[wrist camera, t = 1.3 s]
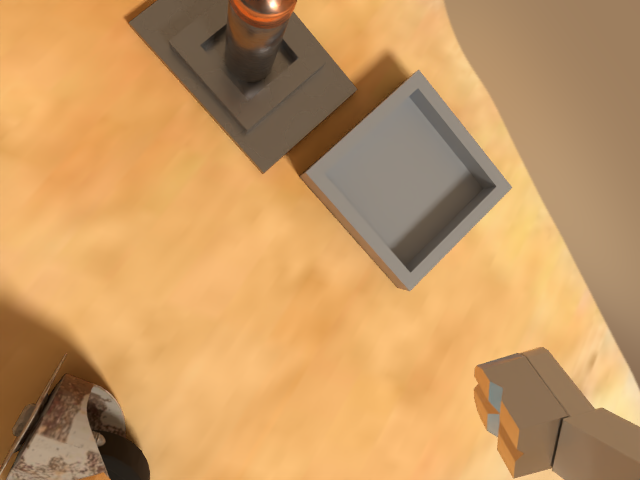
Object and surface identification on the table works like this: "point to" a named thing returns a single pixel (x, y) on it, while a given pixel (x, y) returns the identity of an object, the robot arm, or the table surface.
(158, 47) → the collar plate
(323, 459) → the table surface
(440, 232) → the tray
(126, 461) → the caster wheel
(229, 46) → the pin
